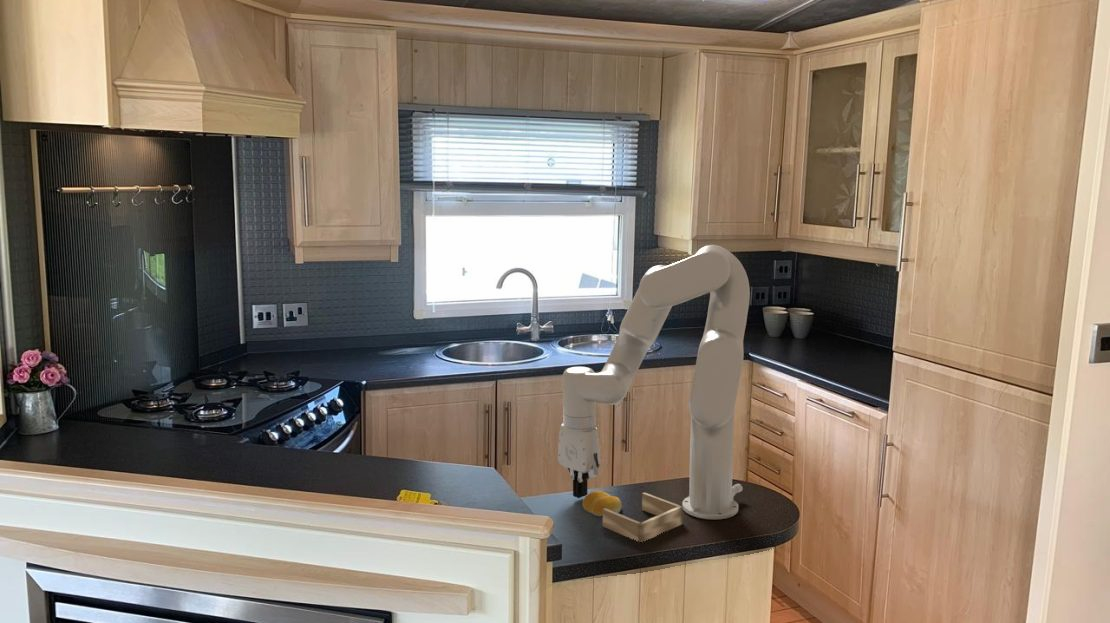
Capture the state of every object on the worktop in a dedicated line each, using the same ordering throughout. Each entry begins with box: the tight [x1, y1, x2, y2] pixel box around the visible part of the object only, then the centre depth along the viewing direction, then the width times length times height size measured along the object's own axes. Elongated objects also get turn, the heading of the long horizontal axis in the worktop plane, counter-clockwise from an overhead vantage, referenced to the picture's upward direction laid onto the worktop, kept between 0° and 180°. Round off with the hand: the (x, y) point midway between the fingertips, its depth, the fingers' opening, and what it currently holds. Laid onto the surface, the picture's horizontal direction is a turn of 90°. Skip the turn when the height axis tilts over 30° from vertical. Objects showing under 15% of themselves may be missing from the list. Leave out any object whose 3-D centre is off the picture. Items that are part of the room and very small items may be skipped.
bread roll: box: [582, 490, 623, 518], centre depth 197 cm, size 8×9×4 cm
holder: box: [602, 492, 684, 543], centre depth 189 cm, size 14×11×4 cm
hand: (580, 495), depth 203 cm, fingers closed
